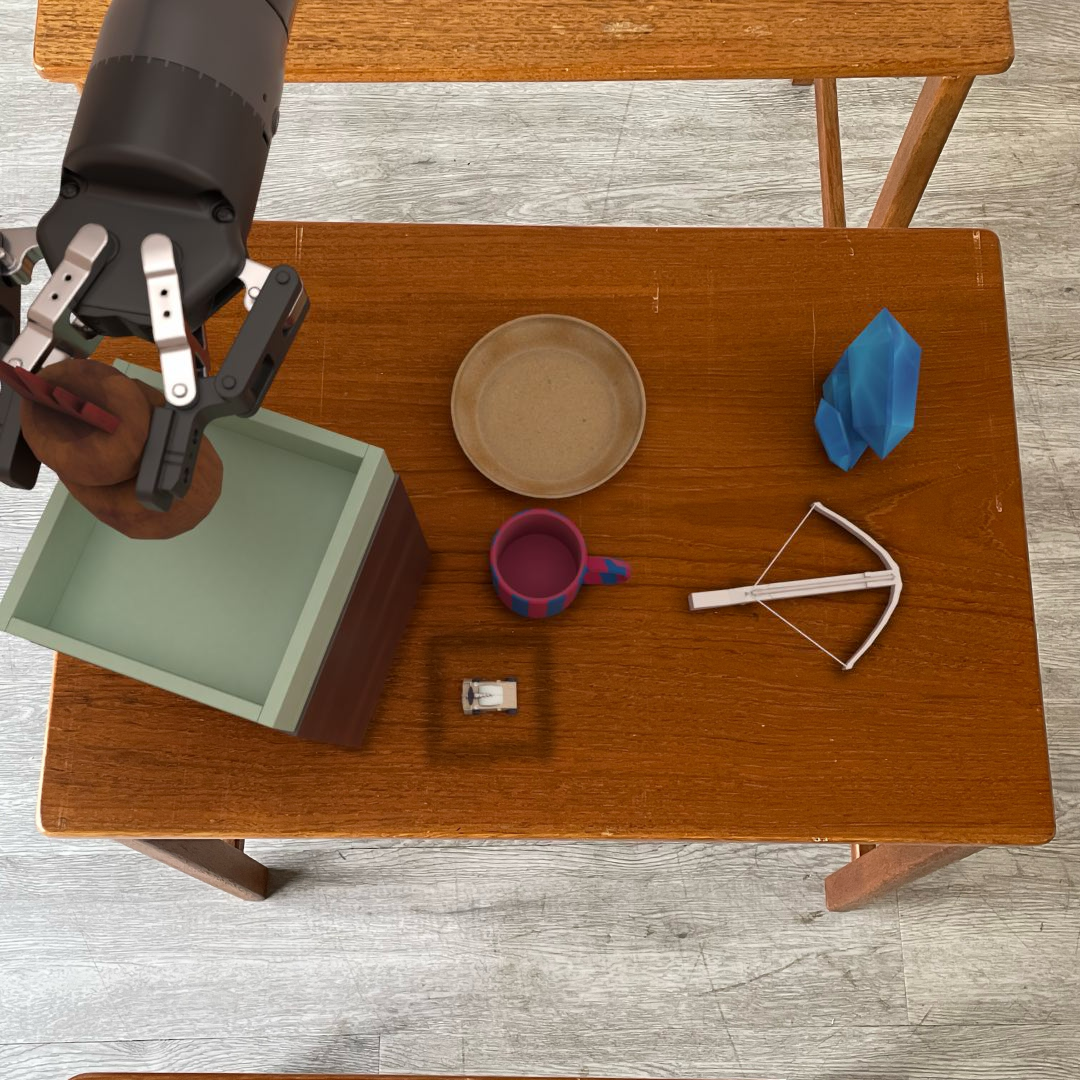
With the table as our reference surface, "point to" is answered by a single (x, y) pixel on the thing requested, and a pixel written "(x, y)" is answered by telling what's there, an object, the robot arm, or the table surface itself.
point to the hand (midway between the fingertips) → (82, 493)
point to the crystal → (870, 393)
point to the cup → (546, 563)
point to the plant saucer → (548, 406)
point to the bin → (214, 571)
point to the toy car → (489, 696)
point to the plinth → (366, 628)
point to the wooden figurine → (106, 444)
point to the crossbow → (815, 585)
